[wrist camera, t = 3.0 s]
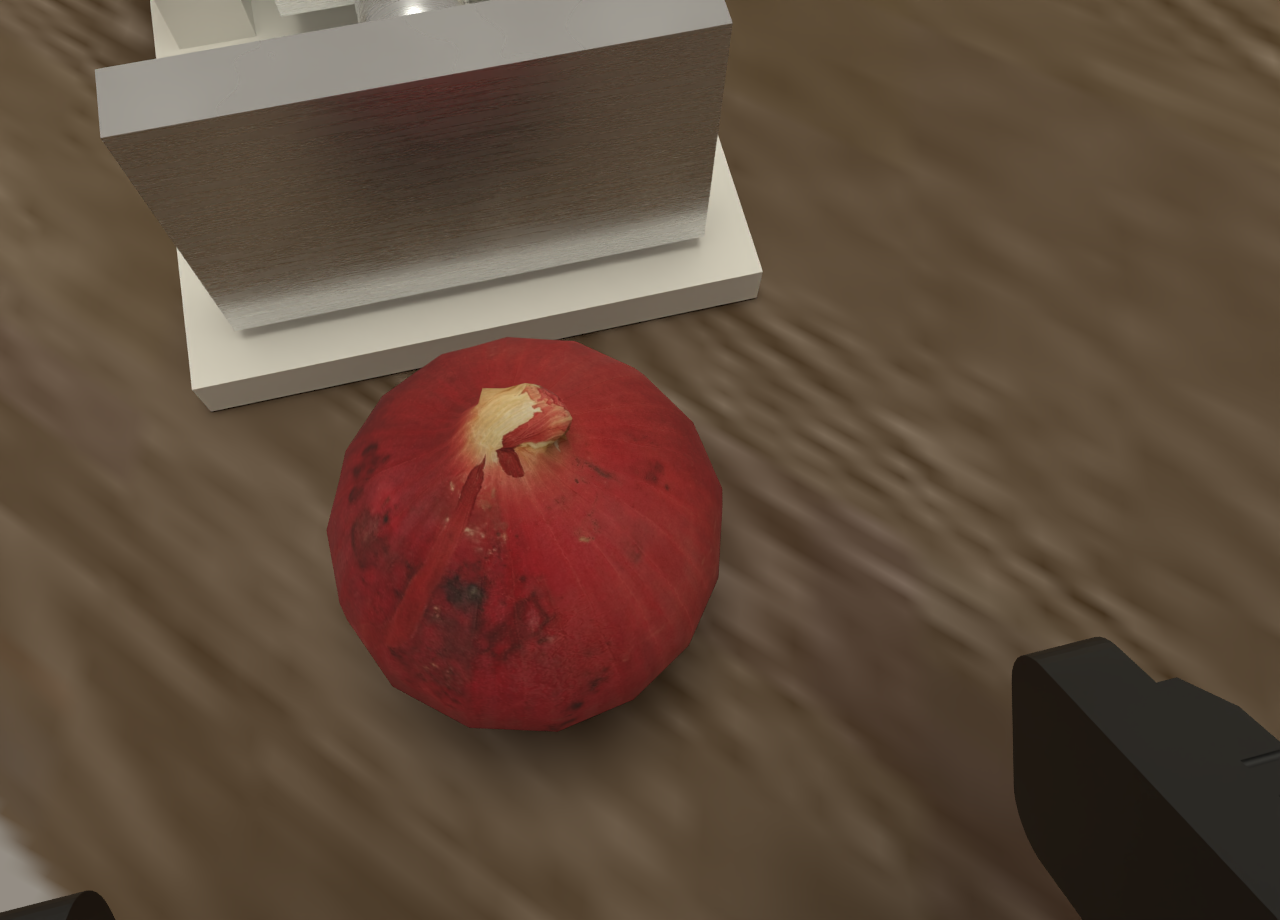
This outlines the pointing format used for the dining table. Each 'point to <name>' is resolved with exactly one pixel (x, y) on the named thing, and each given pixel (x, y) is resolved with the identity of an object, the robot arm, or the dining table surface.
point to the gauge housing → (448, 318)
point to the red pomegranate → (525, 534)
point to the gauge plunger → (423, 146)
